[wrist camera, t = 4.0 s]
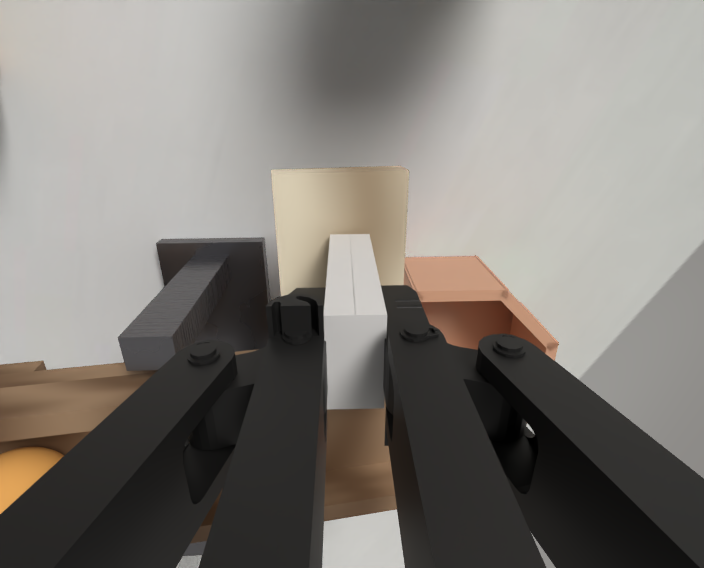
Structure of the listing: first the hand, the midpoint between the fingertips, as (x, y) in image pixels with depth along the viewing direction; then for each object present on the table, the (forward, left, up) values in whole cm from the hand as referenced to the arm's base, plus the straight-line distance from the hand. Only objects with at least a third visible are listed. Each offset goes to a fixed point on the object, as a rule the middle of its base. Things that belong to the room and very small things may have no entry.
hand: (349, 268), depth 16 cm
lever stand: (0, -11, -9) cm, 15 cm away
